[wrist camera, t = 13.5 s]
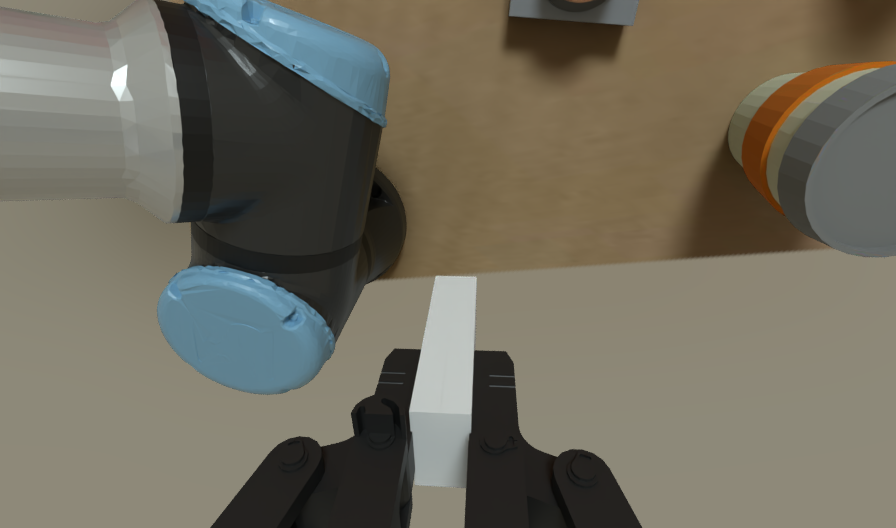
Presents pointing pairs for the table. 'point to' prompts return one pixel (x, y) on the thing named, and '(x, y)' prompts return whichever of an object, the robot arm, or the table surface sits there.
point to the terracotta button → (578, 1)
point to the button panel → (577, 11)
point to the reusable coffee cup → (826, 153)
